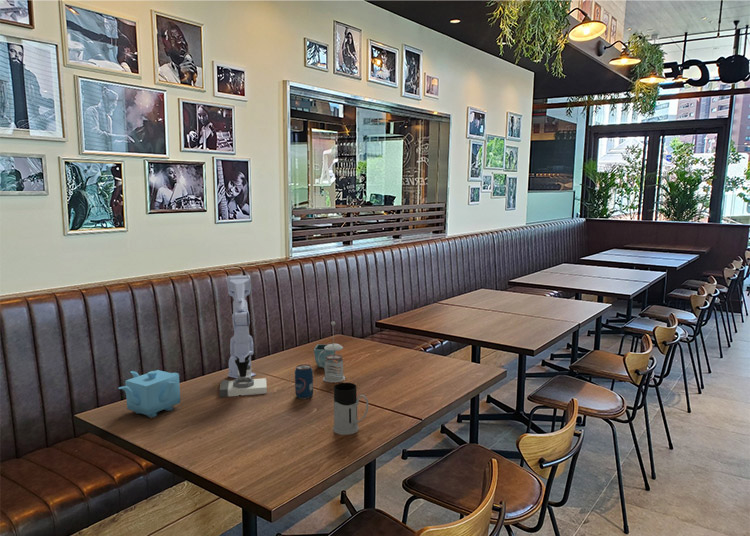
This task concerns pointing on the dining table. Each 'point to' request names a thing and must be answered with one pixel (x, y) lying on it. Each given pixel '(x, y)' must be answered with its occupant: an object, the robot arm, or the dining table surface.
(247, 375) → the lens
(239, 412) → the dining table surface
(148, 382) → the teakettle
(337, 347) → the french press
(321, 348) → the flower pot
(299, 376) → the soda can
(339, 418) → the grey and black mug
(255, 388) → the camera body
